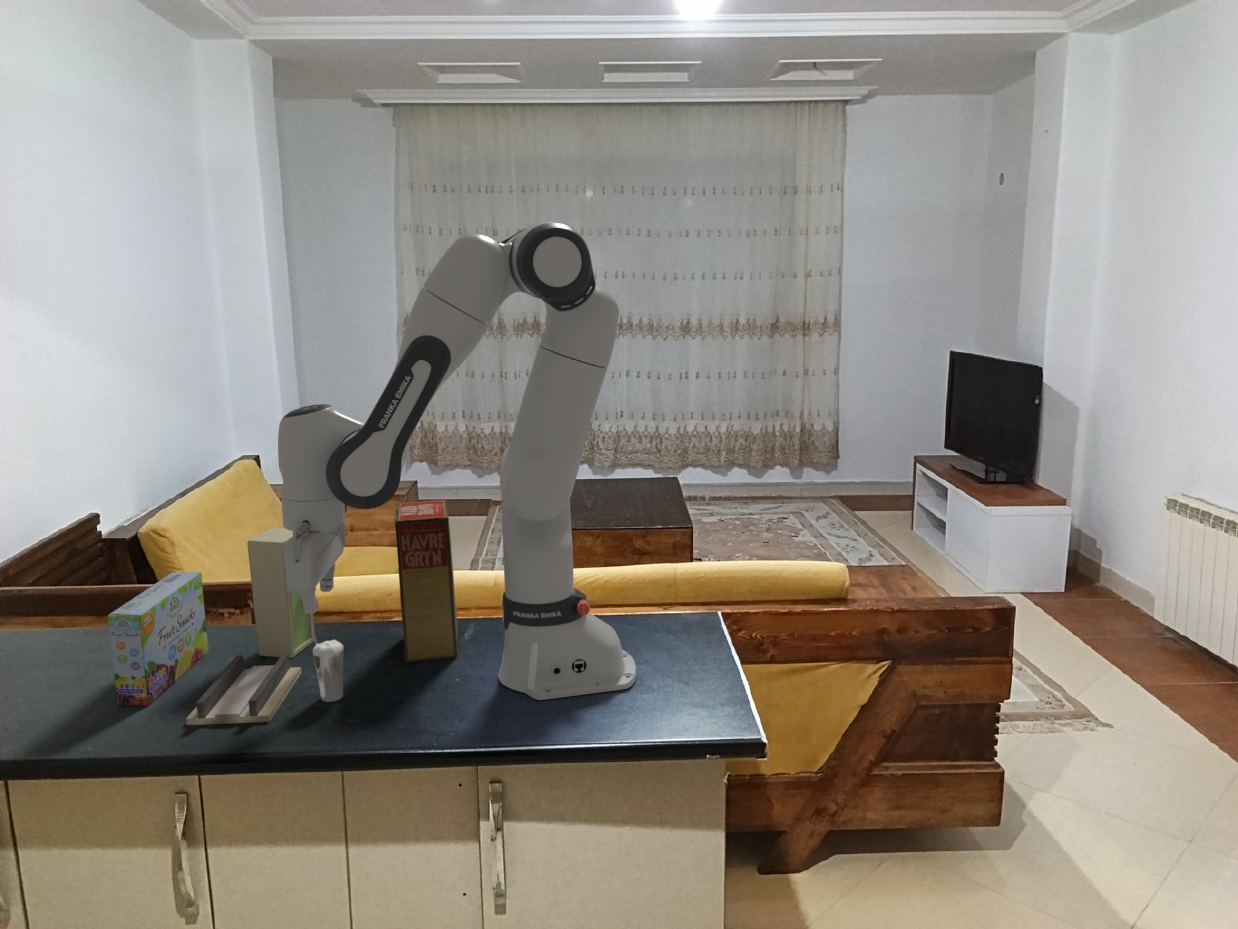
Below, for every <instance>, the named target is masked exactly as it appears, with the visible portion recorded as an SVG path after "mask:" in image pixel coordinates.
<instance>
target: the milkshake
mask: <svg viewBox="0 0 1238 929" xmlns="http://www.w3.org/2000/svg"><path fill="white" fill-rule="evenodd" d="M312 636H313V639H314V644H315V645H314V647H313V648H312V651H311V652H312V657H313V661H314V666H315V670H316V675H317V680H318V685H319V687H318V688H319V692H320V693H319V694H320V697H321V701H323V702H325V703H332V702H333V703H334V702H337V701H339V700H341V699H342V698H343V697H344V691H343V690H344V687H343V686H344V684H343V683H344V680H343V678H344V674H343V673H344V672H343V671H344V670H343V668H344V645H343V643H341V642H340V641H338V640H337V639H332V640H324V641H323V642H320V643H319V642H318V640H317V636H316V634H312Z"/></svg>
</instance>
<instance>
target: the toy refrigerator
mask: <svg viewBox="0 0 1238 929" xmlns="http://www.w3.org/2000/svg"><path fill="white" fill-rule="evenodd" d="M292 536H293V531H291V530H287V529H285V528H284V527H272V528H270V529H268V530H265V531H263V532H262V533H260V534H258V535H256V536H253V537H252V538H249V539H248V540H247V551H248V563H249V571H250V583H251V591H252V601H253V612H254V620H255V622H254V623H255V632H256V639H257V640H256V642H257V651H258V655H259V656H261V657H274V658H280V657H281V655H282V654H287V653H289V659H292V658H294V657H295V656H297V655H298V654H299V653H301V652H302V651H303V650H304V649H306V648H307V647H308V646H310V645H312V643H315V641H314V639H313V636H312V634H315V625H314V622H315V621H314V614H306V613H304V610H303V602H302V600H301V597H300V595H299V593H292V592H289V590H288V588H287V585H286V545H287V542H288V540H289V539H290V538H291V537H292ZM315 635H316V634H315Z"/></svg>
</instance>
